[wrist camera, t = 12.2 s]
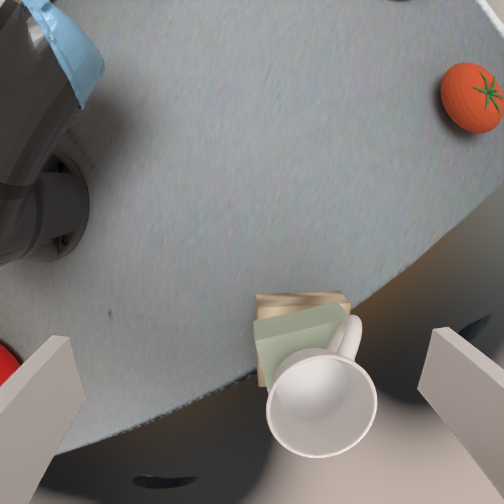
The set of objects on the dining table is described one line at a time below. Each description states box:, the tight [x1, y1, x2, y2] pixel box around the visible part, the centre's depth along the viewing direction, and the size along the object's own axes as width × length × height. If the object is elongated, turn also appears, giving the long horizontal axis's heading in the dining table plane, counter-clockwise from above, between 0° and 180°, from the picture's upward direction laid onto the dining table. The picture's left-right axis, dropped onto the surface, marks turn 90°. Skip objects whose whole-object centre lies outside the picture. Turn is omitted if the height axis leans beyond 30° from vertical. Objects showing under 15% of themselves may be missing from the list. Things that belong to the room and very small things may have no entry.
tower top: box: [253, 301, 355, 394], centre depth 35 cm, size 10×10×5 cm
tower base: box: [256, 291, 351, 387], centre depth 40 cm, size 11×11×5 cm
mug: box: [266, 315, 377, 458], centre depth 26 cm, size 12×8×10 cm
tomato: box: [441, 63, 504, 133], centre depth 31 cm, size 10×10×10 cm
